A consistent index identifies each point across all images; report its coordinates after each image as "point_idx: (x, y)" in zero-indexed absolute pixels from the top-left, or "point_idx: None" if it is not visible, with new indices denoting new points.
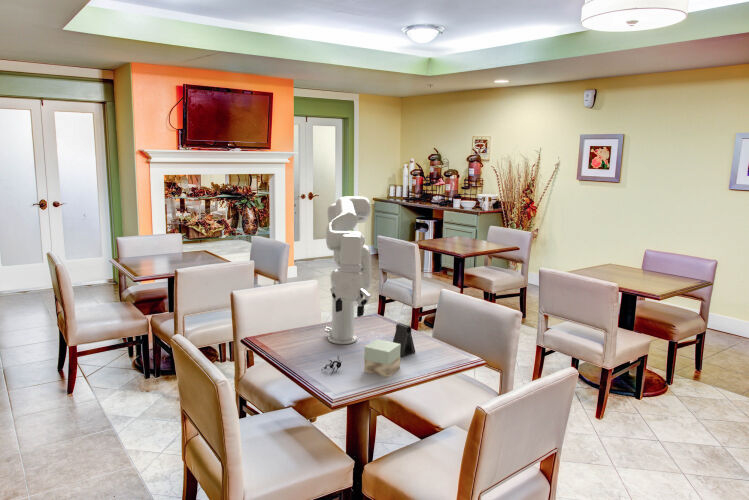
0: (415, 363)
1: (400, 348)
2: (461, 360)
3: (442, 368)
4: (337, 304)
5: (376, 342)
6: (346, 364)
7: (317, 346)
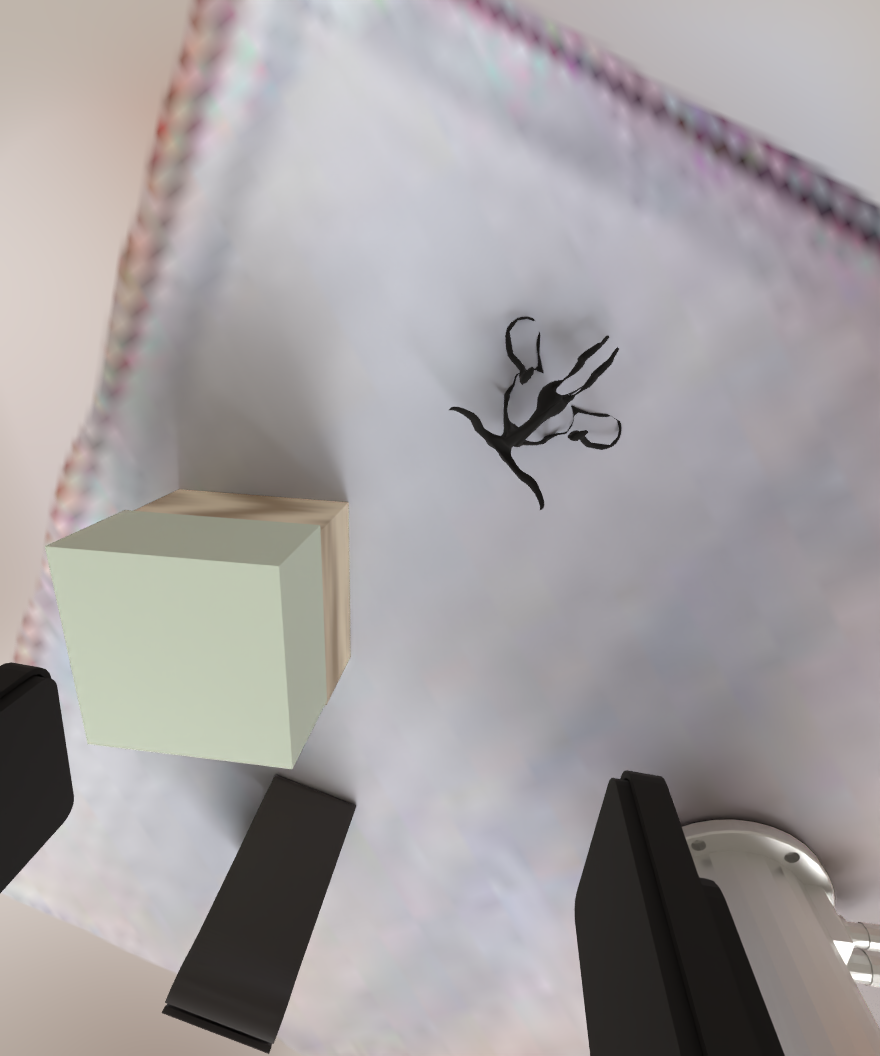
0: None
1: (267, 828)
2: None
3: None
4: (665, 984)
5: (252, 698)
6: (507, 549)
7: (846, 739)
